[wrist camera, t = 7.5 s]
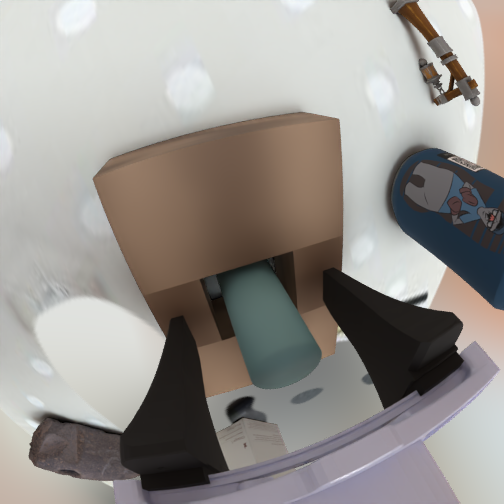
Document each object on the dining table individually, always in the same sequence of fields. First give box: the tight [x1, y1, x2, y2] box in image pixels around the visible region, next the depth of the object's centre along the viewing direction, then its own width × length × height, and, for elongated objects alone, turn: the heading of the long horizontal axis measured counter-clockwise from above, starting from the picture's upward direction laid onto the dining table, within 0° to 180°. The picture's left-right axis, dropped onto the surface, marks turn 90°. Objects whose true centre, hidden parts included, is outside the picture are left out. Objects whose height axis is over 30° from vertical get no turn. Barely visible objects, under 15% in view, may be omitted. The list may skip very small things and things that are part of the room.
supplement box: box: [216, 418, 296, 479], centre depth 26 cm, size 7×7×13 cm
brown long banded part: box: [390, 0, 480, 106], centre depth 11 cm, size 2×8×4 cm, turn 31°
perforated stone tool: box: [29, 418, 140, 481], centre depth 20 cm, size 15×5×7 cm, turn 55°
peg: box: [216, 259, 322, 389], centre depth 14 cm, size 3×3×8 cm
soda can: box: [391, 148, 504, 310], centre depth 13 cm, size 7×7×12 cm
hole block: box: [93, 112, 343, 398], centre depth 15 cm, size 10×16×4 cm, turn 9°
